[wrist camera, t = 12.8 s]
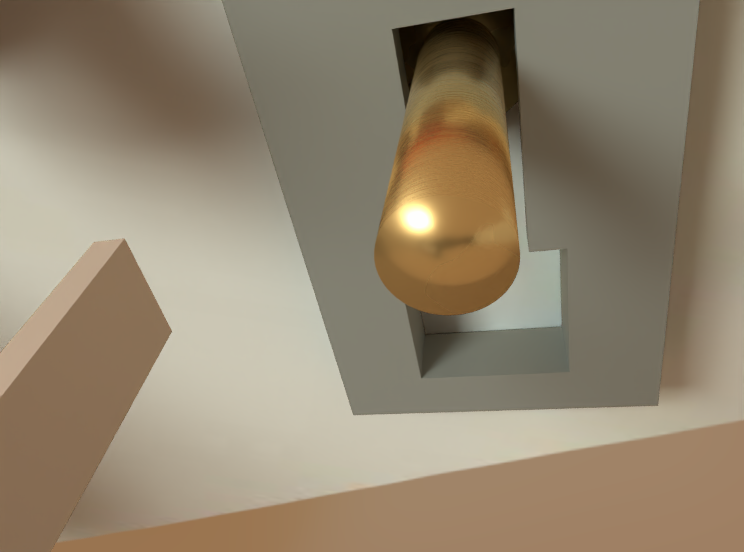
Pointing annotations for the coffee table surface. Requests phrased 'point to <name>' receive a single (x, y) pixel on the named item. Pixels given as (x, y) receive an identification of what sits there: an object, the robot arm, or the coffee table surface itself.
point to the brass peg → (453, 169)
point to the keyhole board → (541, 191)
